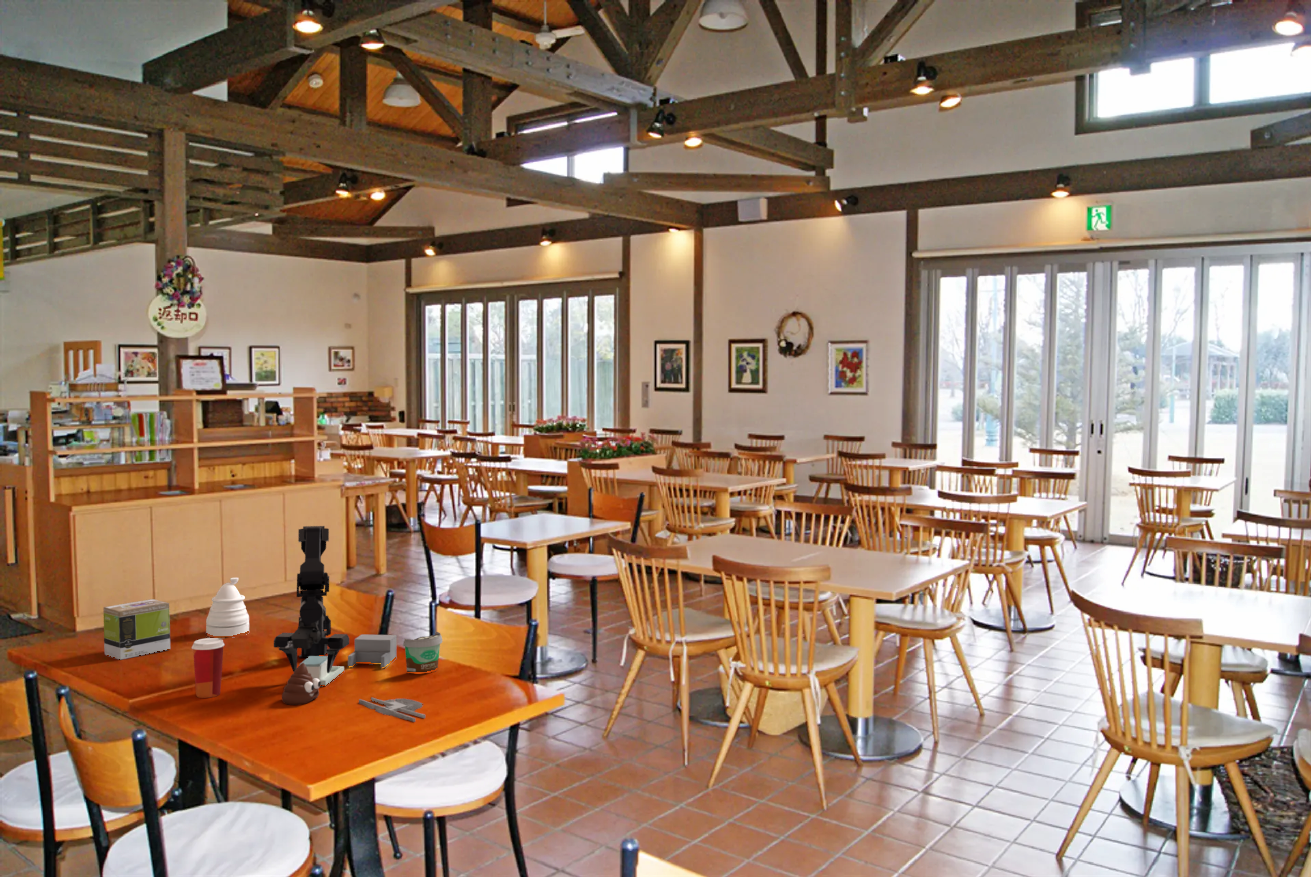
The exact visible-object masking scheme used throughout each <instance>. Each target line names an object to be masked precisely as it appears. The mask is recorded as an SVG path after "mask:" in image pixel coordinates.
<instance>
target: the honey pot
mask: <svg viewBox="0 0 1311 877" xmlns="http://www.w3.org/2000/svg"><path fill="white" fill-rule="evenodd" d="M239 578H240V577H231V578H229V580H230V582H226V583H223V584H222V585H221V587H220V588H219V589H218V591H217V592H216V595H215V596H212V598H211V602H212V604H211V607H210V608H209V612H208V615H207V617H206V623H205V624H206V627H205V629H206V630H205V634H206V633H208V634H210V635H213V636H233V635H237V634H240V633H245V632H247V631H249V632H250V615H249V613H248V611H247V609H246V608H247V607H246V605H245V602H244V600H245V599H246V597H245V595H243V594H240V592H239V590H238V588H237V587H236V584H238V581H239V580H240V579H239Z"/></svg>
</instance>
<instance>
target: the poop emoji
mask: <svg viewBox="0 0 1311 877" xmlns="http://www.w3.org/2000/svg"><path fill="white" fill-rule="evenodd" d="M300 663H301V664H300ZM300 663H299V664H300V665H299V666H298V665H297V669H296V670H295V671H294V672H293V674H291V675H290V678H289V679H288V680H287V684H286V685H285V686H284V688H283V692H282V694H281V699H282V700H281V701H282V703H284V704H285V705H290V706H301V705H305V704H308V703H310V702H311V701H313V700H315V699H317V698H318V697H319V695H320V691H319V689H320V687H321V686H320V685H321V682H320V680H319V679H317V678H314V679H313V678H312V676H311V674H310V673H308V670H307V667H306V665H305V664H304V663H302V662H300Z"/></svg>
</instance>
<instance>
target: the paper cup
mask: <svg viewBox="0 0 1311 877" xmlns="http://www.w3.org/2000/svg"><path fill="white" fill-rule="evenodd" d="M224 646H225V642H224V640H223V638H210V637H207V638H206V637H205V638H200V639H198V640H197V639H196V640H195V641H193V644H192V646H191V649H192V651H193V666H194V668H193V670H194V684H195V695H196V697H197V698H199V699H208V698H209V699H210V698H215V697H217V696H219V695H220V694H221V685H222V674H223V658H224V657H223V655H224Z"/></svg>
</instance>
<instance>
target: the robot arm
mask: <svg viewBox="0 0 1311 877" xmlns="http://www.w3.org/2000/svg"><path fill="white" fill-rule="evenodd" d="M329 530H330V528H327V527H325V525H308V526H307V525H306V526H302V528H300V529H299V528H298V536H297V537H298V540H297V541H298V543H300V548H301V549H300V550H301V551H302V552H303V554H304V562H302V563H301V564H300V565H299V572H298V573H296V598H300V607H299V617H298V624H297V625H298V626H297V629H296V630H295V631H294V632H282V633H281V634H278V635H276V636H275V637H274V640H273V648H277V649H278V651H281V652H283V653H284V654H285V656H286V658H287V659H288V662H289V665H290V667H291V669H292V672H293V673H294V671H295V670H296V669H297V668H298V658H300V659H302V657H309V656H319V655H324V656H326V655H327V656H328V659H327V673H329V672H330V670H331V668H332V666H334V663H335V660H336V659H337V656H338V654H339V652H340V651H341V650H342V649H344V648H345V647H347V646H348V645H350V636H349V635H348V634H347V633H334V634H333V635H331V634H332V620H331V619H330V617H329V615H327V609H326V607H325V605H324V597H327V595H328V593H329V592H330V576H329V575H328V572H325V564H324V563H323V562H322V556H323V554H324V552H325V551H326V549H327V542H330V537H329V536H330V535H329V534H330V531H329ZM329 636H330V637H329ZM298 649H300V650H301V651H300V652H301V654H299V656H298ZM326 653H327V654H326ZM325 654H326V655H325Z"/></svg>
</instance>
